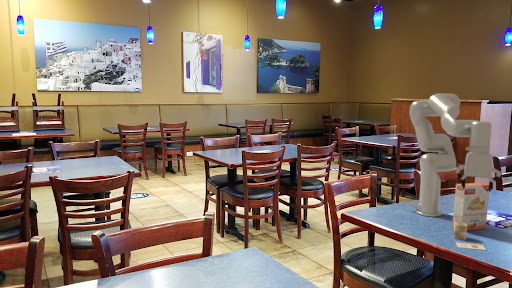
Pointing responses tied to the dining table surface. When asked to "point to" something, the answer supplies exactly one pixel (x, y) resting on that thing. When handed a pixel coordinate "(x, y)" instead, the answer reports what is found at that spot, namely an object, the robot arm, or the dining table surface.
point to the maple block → (460, 230)
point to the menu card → (469, 245)
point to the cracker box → (471, 205)
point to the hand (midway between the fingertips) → (476, 189)
